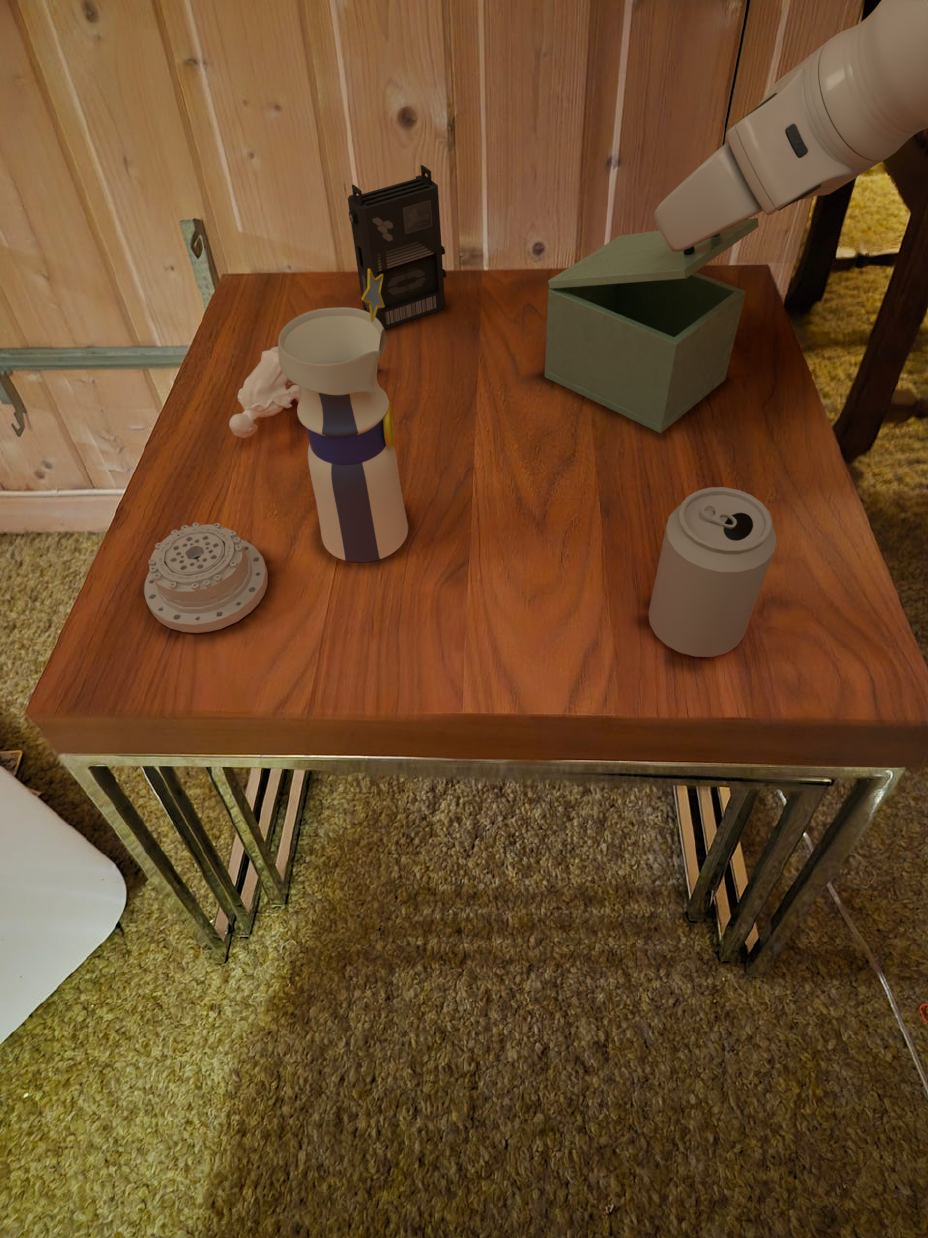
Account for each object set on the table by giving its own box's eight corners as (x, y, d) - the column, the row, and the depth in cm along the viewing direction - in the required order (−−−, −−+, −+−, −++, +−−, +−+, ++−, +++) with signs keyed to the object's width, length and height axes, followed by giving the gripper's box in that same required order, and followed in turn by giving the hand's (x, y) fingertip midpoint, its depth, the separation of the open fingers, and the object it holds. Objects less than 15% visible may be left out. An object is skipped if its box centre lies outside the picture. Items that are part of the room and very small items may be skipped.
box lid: (759, 226, 74) (752, 168, 72) (686, 278, 69) (675, 218, 67) (621, 243, 85) (611, 193, 83) (549, 289, 80) (535, 237, 78)
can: (726, 678, 63) (764, 569, 54) (632, 641, 65) (653, 531, 56) (756, 610, 67) (796, 498, 58) (666, 578, 69) (691, 466, 60)
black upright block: (434, 288, 100) (425, 155, 88) (453, 305, 98) (446, 170, 86) (356, 315, 97) (335, 180, 85) (373, 333, 94) (355, 197, 83)
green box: (725, 379, 86) (746, 290, 79) (660, 433, 81) (676, 344, 74) (610, 329, 93) (620, 243, 86) (544, 376, 88) (548, 289, 80)
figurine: (322, 396, 94) (204, 430, 80) (328, 324, 90) (204, 346, 76) (373, 415, 92) (260, 453, 78) (381, 341, 88) (263, 368, 74)
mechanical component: (284, 607, 69) (249, 532, 75) (273, 571, 65) (237, 495, 71) (164, 652, 66) (138, 570, 72) (146, 617, 63) (120, 534, 69)
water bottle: (413, 494, 77) (384, 222, 58) (412, 562, 72) (378, 286, 52) (324, 498, 77) (265, 228, 58) (316, 565, 72) (247, 292, 52)
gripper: (871, 43, 65) (733, 148, 77) (728, 126, 55) (596, 230, 67) (906, 120, 66) (765, 211, 78) (772, 214, 57) (636, 300, 69)
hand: (686, 221), depth 73 cm, fingers closed on box lid, 5 cm apart
